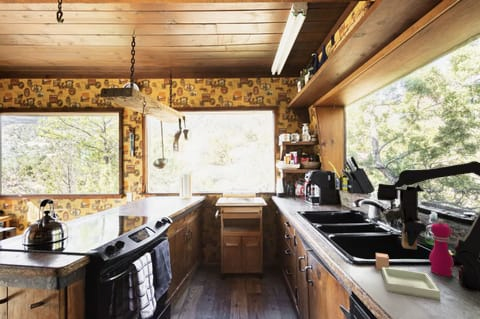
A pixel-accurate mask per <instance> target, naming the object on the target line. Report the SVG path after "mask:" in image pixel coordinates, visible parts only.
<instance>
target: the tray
mask: <svg viewBox="0 0 480 319" xmlns="http://www.w3.org/2000/svg"><path fill="white" fill-rule="evenodd" d="M381 275H382V278H383V281H384V284H385V287H386V290H387V292H391V293H396V294H401V295H402V294H403V295H407V296H412V295H413V297H419V298H424V299H431V300H437V301H441V291H440V289H439V288H438V287H437V286H436V284H435V283H434V281H433V280H432V279H431V277H430V276H429V275H428V274H427V273H426V272H422V271H421V272H420V271H414V270H406V269H400V268H392V267H389V268H385V267H382V270H381Z"/></svg>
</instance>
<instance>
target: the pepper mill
mask: <svg viewBox="0 0 480 319" xmlns="http://www.w3.org/2000/svg"><path fill="white" fill-rule="evenodd" d="M430 232H431V233H432V234H433V235H432V240H433V248H432V250H431V252H430V253H429V257H428V260H429V262H430V264H431V265H430V271H431V272H432V273H434V274H435V275H440V276H445V277H446V276H447V277H451V276H453V269H452V267H453V266H454V264H455V263H454V257H452V254H451V253H450V251H449V242H450V237H449V236H450V235H451V234H452V230H451V227H450V226H449V225H447V224H446V223H444V219H442V218H441V219H440V218H439V219H437V222H435V223H433V224H431V226H430Z"/></svg>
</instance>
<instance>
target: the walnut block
mask: <svg viewBox="0 0 480 319" xmlns="http://www.w3.org/2000/svg"><path fill="white" fill-rule="evenodd" d="M401 246H402V247H403V249H408V250H409V249H410V250H417V249H418V238H417V239H416V241H415V243H414V245H413V246H409V244H408V239H407V234H406V232H403V231H402V232H401Z"/></svg>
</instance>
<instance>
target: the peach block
mask: <svg viewBox="0 0 480 319" xmlns="http://www.w3.org/2000/svg"><path fill="white" fill-rule="evenodd" d="M389 260H390V257H389V255H388V254H386V253H379V252H375V268H376V270H380V271H382V267H385V268H390V261H389Z"/></svg>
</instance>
